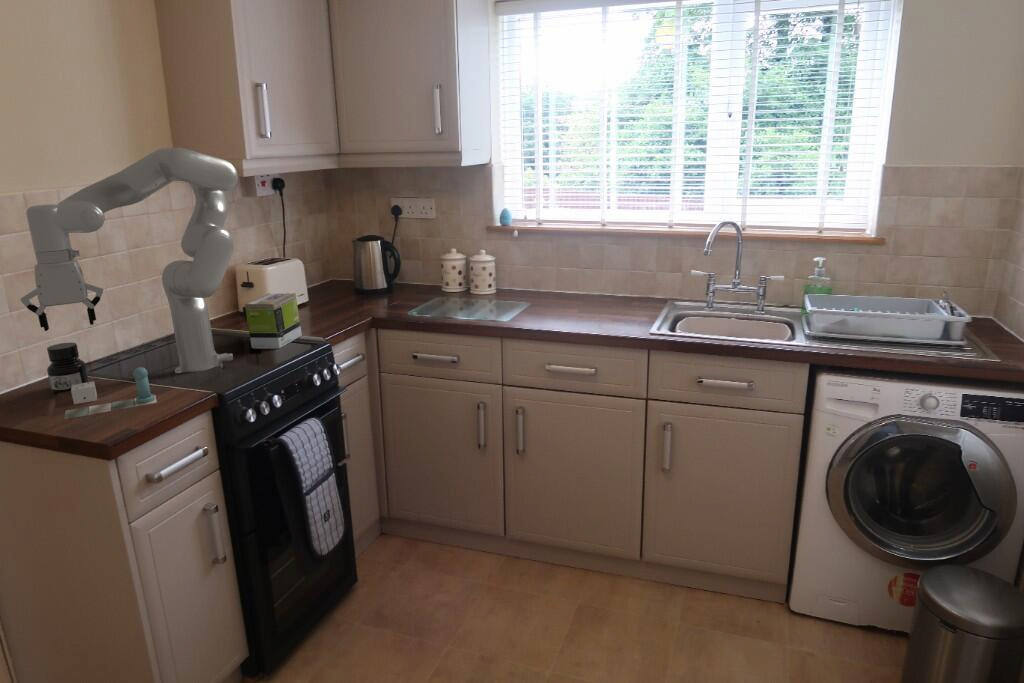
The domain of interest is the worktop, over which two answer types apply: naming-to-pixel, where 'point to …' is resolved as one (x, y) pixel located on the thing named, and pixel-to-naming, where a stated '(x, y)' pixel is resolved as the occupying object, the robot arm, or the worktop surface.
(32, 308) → the robot arm
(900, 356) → the worktop surface
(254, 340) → the tea box
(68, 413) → the board
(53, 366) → the ink bottle
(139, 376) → the pawn
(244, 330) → the worktop surface
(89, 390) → the die
